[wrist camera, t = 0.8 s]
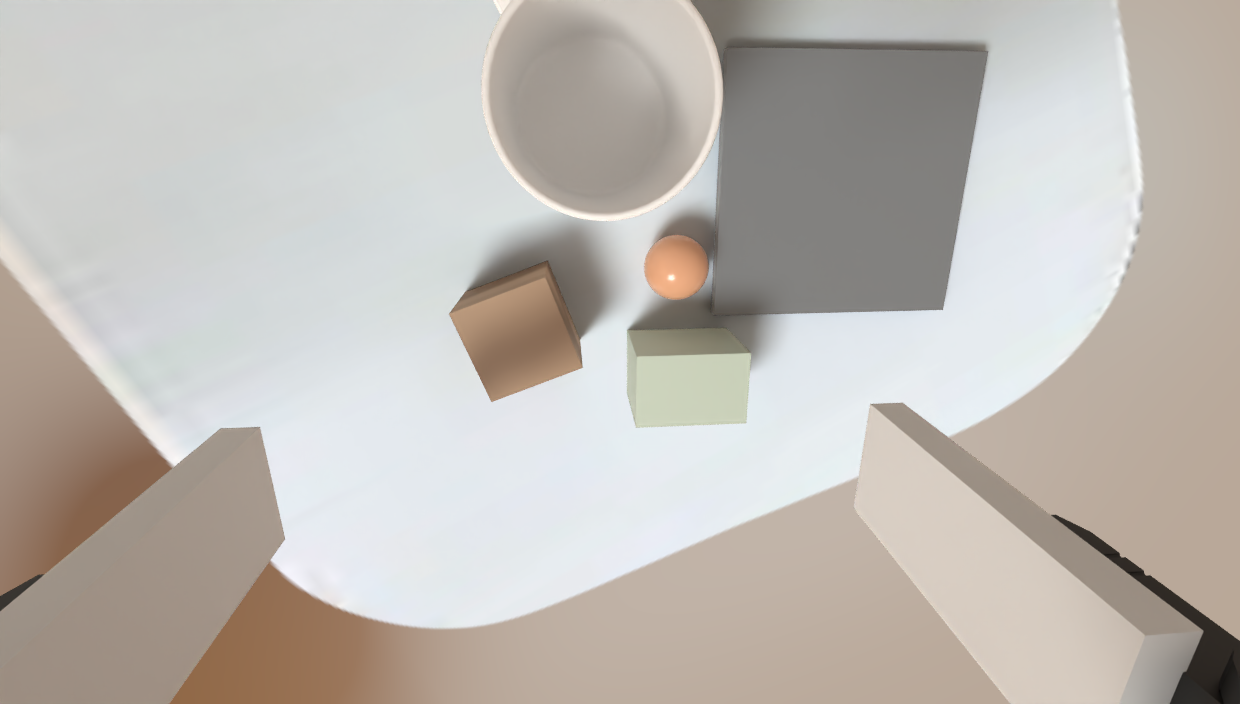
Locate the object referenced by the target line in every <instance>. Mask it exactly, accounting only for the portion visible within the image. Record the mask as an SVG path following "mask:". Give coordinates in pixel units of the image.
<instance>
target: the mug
mask: <svg viewBox="0 0 1240 704" xmlns="http://www.w3.org/2000/svg"><path fill="white" fill-rule="evenodd" d="M493 1H494V3H495V5H496V7H497V9H498V11H499V13H500V15H501V16H500V18H499V20H498V22H497V23H496V25H495V27H494V29H493V31H492V34H491V37H490V40H489V42H488V45H487V48H486V53H485V57H484V62H483V69H482V79H481V91H482V105H483V112H484V117H485V121H486V125H487V128H488V132H489V135H490V137H491V140H492V142H493V145H494V147H495V149H496V151H497V153H498V155H499V156H500V158H501V160H502V162H503V164H504V165H505V166H506V168H507V169H508V170H509V172H510V173H511V175H512V176H513V177H514V178H515V179H516V180H517V181H518V182H519V183H520V185H521V186H522V187H523V188H524V189H525V190H527V191H528V192H529V193H530V194H531V195H533V196H534V197H535V198H536V199H538V200H539V201H541V202H543V203H544V204H546V205H547V206H549V207H551V208H553V209H555V210H557V211H559V212H562V213H564V214H567V215H570V216H573V217H577V218H581V219H587V220H594V221H614V220H623V219H627V218H632V217H636V216H639V215H641V214H644V213H647V212H649V211H652V210H653V209H655V208H657V207H659V206H661V205H663V204H664V203H666V202H667V201H669V200H670V199H671V198H673V197H674V196H676V195H677V194H678V193H679V192H680V191H681V190H682V189H683V188H684V187H685V186H686V185H687V184H688V183H689V182H690V181H691V180H692V178H693V177H694V176H695V175H696V174H697V172H698V171H699V169H700V168H701V166H702V165H703V163H704V162H705V160H706V158H707V156H708V154H709V152H710V150H711V148H712V146H713V143H714V140H715V137H716V134H717V131H718V128H719V123H720V119H721V114H722V104H723V77H722V71H721V64H720V59H719V56H718V52H717V48H716V45H715V43H714V40H713V38H712V35H711V33H710V30H709V28H708V26H707V25H706V23H705V21H704V19H703V18H702V16H701V14H700V13H699V11H698V10H697V9H696V7H695V6H694V5H693V3H692V2H691V1H690V0H493Z"/></svg>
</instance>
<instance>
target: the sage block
mask: <svg viewBox="0 0 1240 704" xmlns="http://www.w3.org/2000/svg"><path fill="white" fill-rule="evenodd" d="M750 362H751V353H750V352H749V350H748V349H747V348H746V347H745V346H744V345H743V344H742V343H741V342H740V341H739V340H738V339H737V338H736V337H735V336H734V335H733V334H732V333H731V332H730V331H729V330H728V329H727V328H695V329H658V330H627V395H628V399H629V403H630V406H631V410H632V414H633V418H634V421H635V425H636V428H640V427H665V426H689V425H714V424H739V423H746V417H747V404H748V390H749V376H750Z"/></svg>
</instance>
